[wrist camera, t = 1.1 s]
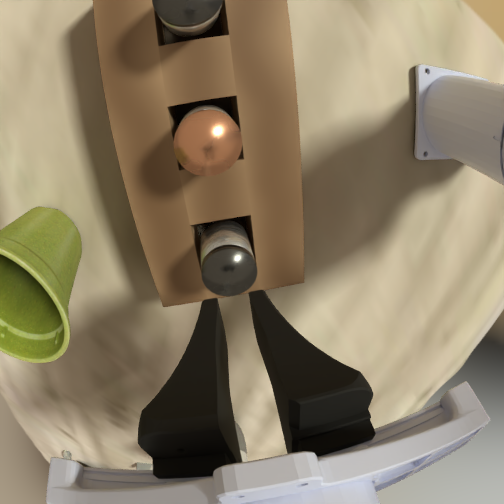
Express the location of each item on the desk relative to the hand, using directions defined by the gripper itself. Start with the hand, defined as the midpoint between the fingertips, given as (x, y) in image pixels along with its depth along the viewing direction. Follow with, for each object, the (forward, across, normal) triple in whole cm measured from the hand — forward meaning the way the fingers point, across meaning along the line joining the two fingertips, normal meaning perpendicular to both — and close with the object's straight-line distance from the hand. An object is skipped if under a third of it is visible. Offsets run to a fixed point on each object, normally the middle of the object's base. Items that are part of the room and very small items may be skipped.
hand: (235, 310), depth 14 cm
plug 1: (+7, 0, -14) cm, 15 cm away
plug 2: (+6, 0, 0) cm, 6 cm away
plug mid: (+6, 0, -7) cm, 10 cm away
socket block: (+10, 0, -7) cm, 12 cm away
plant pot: (+10, +14, -1) cm, 17 cm away
